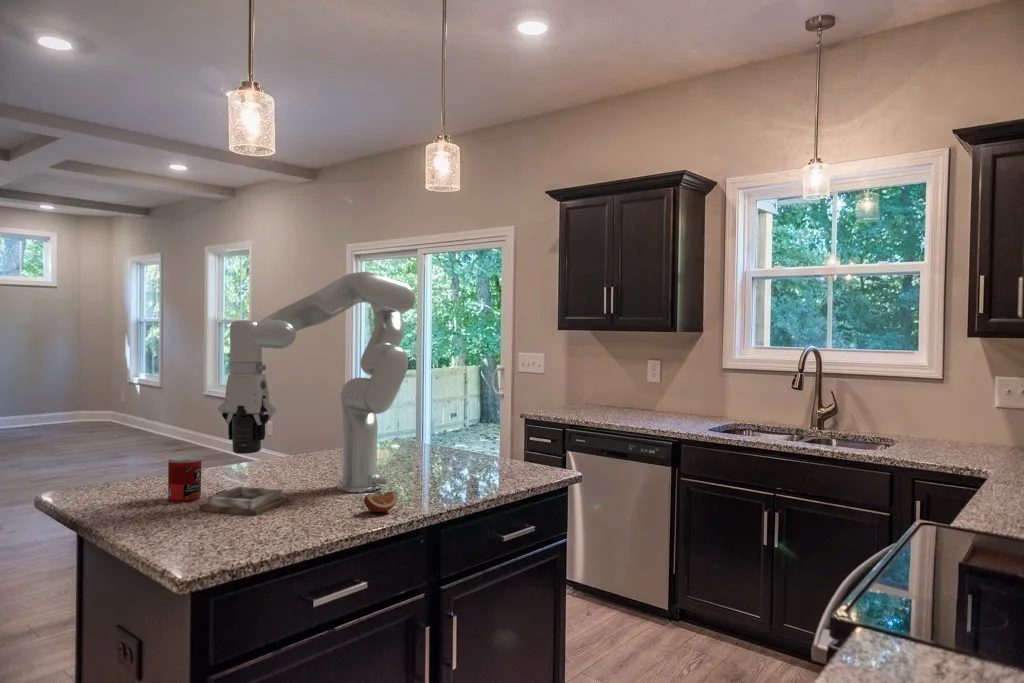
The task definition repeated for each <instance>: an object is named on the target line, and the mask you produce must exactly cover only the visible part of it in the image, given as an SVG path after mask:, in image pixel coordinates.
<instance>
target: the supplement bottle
mask: <svg viewBox="0 0 1024 683" xmlns="http://www.w3.org/2000/svg"><path fill="white" fill-rule="evenodd" d="M236 412H237V415H235V416H234V417H233V419H232V440H231V444H232V452H233V453H234V454H238V455H240V454H242V455H245V454H254V453H258V452H260V451H261V450H262V440H260V441H255V425H257V423H256V420H255V418H254V416H253V415H250V414H246V413H247V411H246V410H245V408H244V406H237V411H236Z"/></svg>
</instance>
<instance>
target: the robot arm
mask: <svg viewBox="0 0 1024 683" xmlns="http://www.w3.org/2000/svg"><path fill="white" fill-rule="evenodd" d="M359 303H360V304H361V303H368V304H370V307H371V309H372V310H373V314H374V316H375V326H374V329H373V332H372V334H371V337H370V339H369V341H368V343H367V344H366V346H365V349H364V351H363V353H362V355H361V357H360V367H361V370H362V371H363V372H364V373H365V374H366V375H368V376H370V378H368V377H354V378H351V379H350V380H347V381H346V382H345V383H344V385H343V387H342V388H341V393H340V400H341V401H340V402H341V410H342V418H343V421H342V422H343V437H342V438H343V439H342V452H343V453H342V481H340V482H338V483H337V484H336V489H337V490H338V491H340V490H341V492H344V491H347V492H346V493H356V492H358V493H366V492H365V491H370V492H373V491H372V490H375V491H377V490H376V489H378V490H380V489H382V488H383V485H389V482H390V479H389V476H385V475H384V476H382V475H381V471H379V470H377V469H378V465H377V464H378V430H379V429H378V420H377V415H378V414H379V415H380V414H383V413H385V412H387V411H388V410H389V409H390V407H392V405H393V403H394V401H395V399H396V398H397V395H398V393H399V391H400V389H401V386H402V383H403V381H404V379H405V376H406V374H407V372H408V368H409V357H408V355H407V352H406V350H405V349H404V348H402V347H401V346H400V345H401V341H402V339H403V336H404V333H405V324H404V319H403V316H402V313H407V312H409V311H410V310H411V309H413V307H414V305H415V303H416V293H415V291H414V289H413V288H412V286H410V285H409V284H408V283H406V282H403V281H400V280H397V279H393V278H390V277H387V276H384V275H380V274H377V273H374V272H370V271H362V272H361V271H360V272H351V273H347V274H345V275H343V276H342V277H340V278H338V279H336V280H334V281H332V282H331V283H329V284H328V285H325V286H324V287H322V288H321V289H319V290H317V291H314V292H313V293H311V294H309V295H307V296H305V297H303V298H301V299H299V300H297V301H295V302H293V303H291V304H289V305H286V306H284V307H282V308H279V309H278V310H276V311H274V312H273V313H271V314H269V315H267V316H265V317H264V318H262V319H261V320H259V321H258V320H234V321H232V322H231V323H230V324H229V325H230V326H229V360H230V361H229V364H230V365H229V368H230V370H229V372H230V374H228V376H227V378H226V379H227V380H226V386H225V396H224V397H225V398H224V401H223V402H222V403H221V404H220V405H219V406H218V407H217V410H218V412H219V413H220V415H221V417H222V418H223V419H224V420H225V423H226V424H227V426H228V427H227V429H228V432H227V433H228V440H229V441H230V440H231V441H232V419H233V417H234V416H235V415H237V412H236V411H237V406H244V408H245V410H246V411H247V413H246V414H250V415H253V416H254V418H255V420H256V423H257V425H255V441H260V440H261V441H264V440H265V436H266V424H267V423H268V421H269V420H270V419H272V416H273V415H274V414H275V413H276V410H277V408H275V407H274V405H272V404H271V402H270V394H269V387H268V386H269V385H268V380H267V377H266V374H263V371H265V370H267V369H266V368H267V366H266V365H265V364H263V349H264V348H265V349H274V350H283V349H286V348H288V347H290V346H292V344H294V342H295V340H296V337H297V332H298V331H300V330H303V329H306V328H309V327H314V326H318V325H322V324H324V323H327V322H330V321H332V320H333V319H334V318H335V317H338V316H339V315H341V314H342V313H344V312H346V311H347V310H349V309H351V308H353V307H354V306H356V305H358V304H359ZM379 488H380V489H379Z"/></svg>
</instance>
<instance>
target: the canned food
mask: <svg viewBox="0 0 1024 683" xmlns="http://www.w3.org/2000/svg"><path fill="white" fill-rule="evenodd" d="M167 464H168V466H167V467H168V471H167V474H168V477H167V478H168V480H167V499H168V501H169V502H170V503H173V502H174V504H175V503H176V504H183V502H187V503H191V502H192V501H193V502H196V500H197V501H199V500H200V499H201V496H202V456H200V455H196V454H195V455H194V454H191V455H190V454H186V455H176V456H172V457H169V458H168V463H167ZM198 499H199V500H198ZM193 502H192V503H193Z"/></svg>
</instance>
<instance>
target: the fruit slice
mask: <svg viewBox="0 0 1024 683" xmlns="http://www.w3.org/2000/svg"><path fill="white" fill-rule="evenodd" d="M397 502H398V494H397V491H396V490H394V491H388V492H387V491H386V492H384V493H379V492H378V493H370V494H369V493H368V494H365V496H364V499H363V504H364V506H365V507H366V509H368V510H369V511H370V512H372V513H375V512H382V513H386V512H388V511H390V510H391V509H392V508H394V507H395V505H396V504H397Z"/></svg>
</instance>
